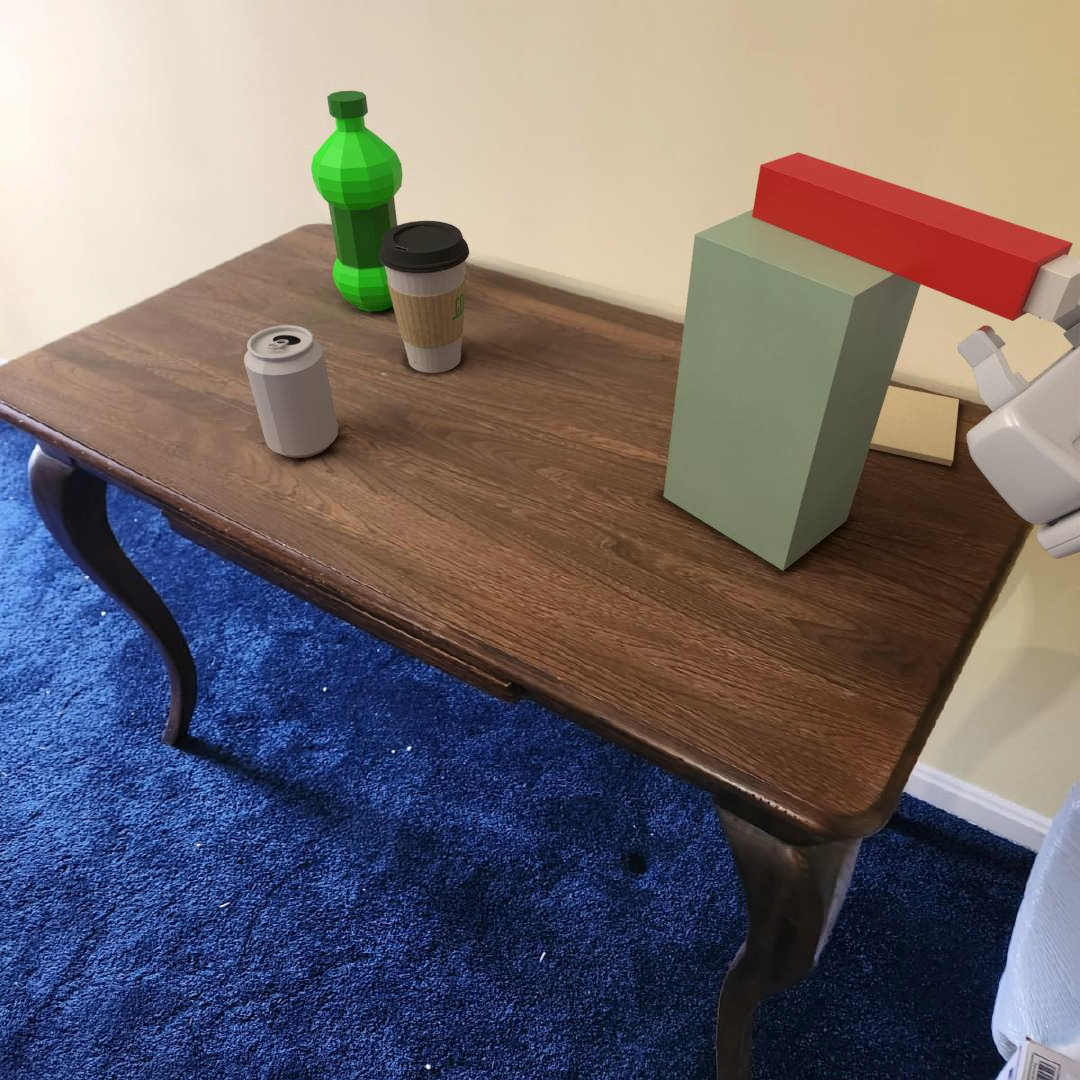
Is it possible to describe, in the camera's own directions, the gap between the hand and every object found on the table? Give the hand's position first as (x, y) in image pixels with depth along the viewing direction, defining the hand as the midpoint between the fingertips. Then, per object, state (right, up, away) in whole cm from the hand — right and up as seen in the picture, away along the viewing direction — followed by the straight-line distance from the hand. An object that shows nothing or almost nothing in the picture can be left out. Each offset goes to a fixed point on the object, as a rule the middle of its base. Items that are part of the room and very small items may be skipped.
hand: (1005, 310), depth 56 cm
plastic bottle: (-52, +16, +57) cm, 79 cm away
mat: (+4, -1, +37) cm, 38 cm away
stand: (-10, -12, +26) cm, 30 cm away
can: (-55, -5, +34) cm, 65 cm away
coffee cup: (-43, +6, +47) cm, 64 cm away
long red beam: (-5, +6, +7) cm, 10 cm away
